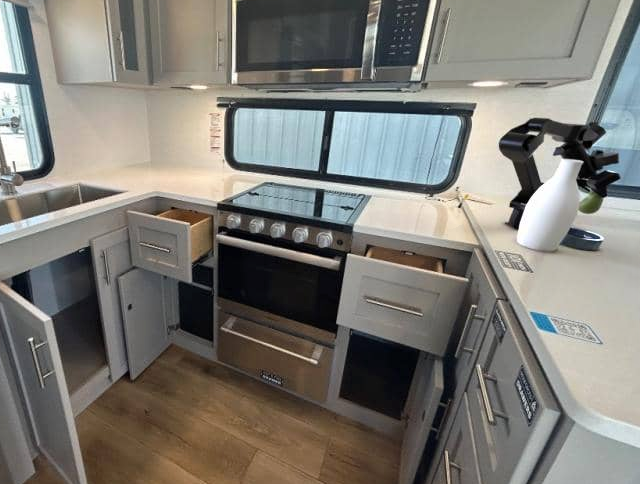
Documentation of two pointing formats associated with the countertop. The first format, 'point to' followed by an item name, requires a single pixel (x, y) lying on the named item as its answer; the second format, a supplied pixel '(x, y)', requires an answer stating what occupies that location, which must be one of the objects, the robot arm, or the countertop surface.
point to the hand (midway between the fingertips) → (599, 195)
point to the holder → (582, 239)
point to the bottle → (551, 209)
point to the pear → (590, 203)
